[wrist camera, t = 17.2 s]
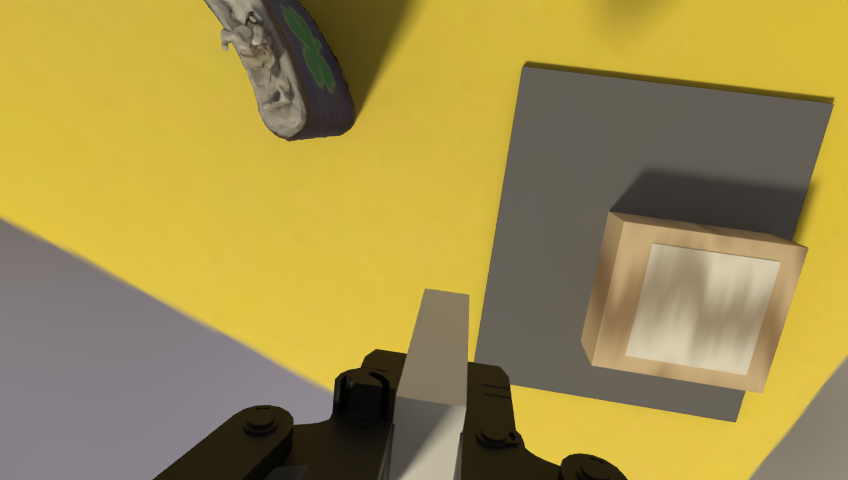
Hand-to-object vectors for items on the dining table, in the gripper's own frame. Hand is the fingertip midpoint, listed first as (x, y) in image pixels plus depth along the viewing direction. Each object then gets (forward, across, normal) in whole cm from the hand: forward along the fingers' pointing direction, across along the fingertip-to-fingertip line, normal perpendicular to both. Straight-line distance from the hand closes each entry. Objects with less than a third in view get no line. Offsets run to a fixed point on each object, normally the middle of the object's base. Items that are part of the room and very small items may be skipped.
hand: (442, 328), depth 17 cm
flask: (+18, -10, +9) cm, 22 cm away
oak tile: (+15, +9, -2) cm, 18 cm away
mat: (+17, +12, -1) cm, 21 cm away
